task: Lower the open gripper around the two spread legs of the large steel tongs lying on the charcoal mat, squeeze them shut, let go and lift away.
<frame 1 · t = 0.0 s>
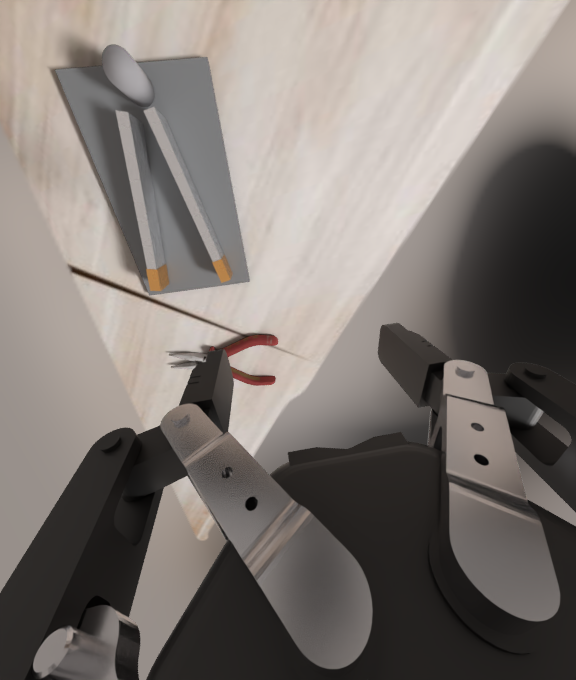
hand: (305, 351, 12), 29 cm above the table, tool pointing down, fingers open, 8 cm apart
leg 1: (147, 214, 30), point 3 cm above the table, hinge at 11.0°
leg 2: (196, 209, 30), point 3 cm above the table, hinge at 11.0°
pliers: (231, 350, 46), on the table
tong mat: (175, 198, 32), on the table
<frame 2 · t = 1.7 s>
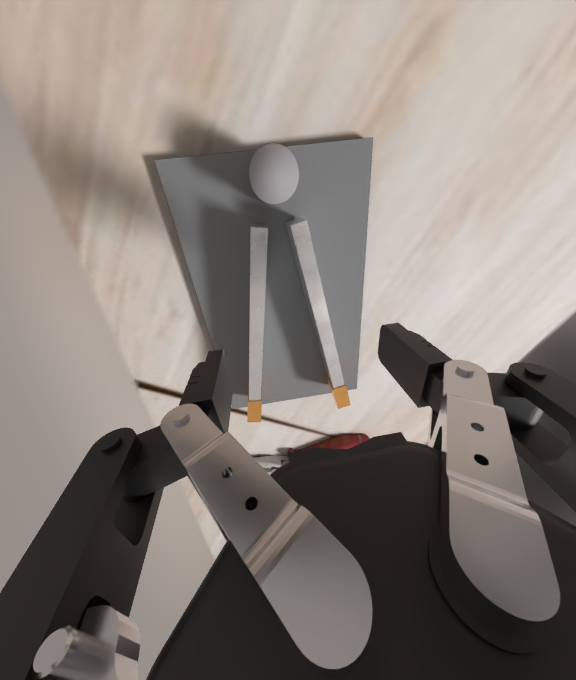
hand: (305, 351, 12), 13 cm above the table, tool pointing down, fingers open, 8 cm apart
leg 1: (256, 336, 22), point 3 cm above the table, hinge at 11.0°
leg 2: (321, 326, 22), point 3 cm above the table, hinge at 11.0°
pliers: (310, 448, 38), on the table
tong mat: (283, 304, 24), on the table
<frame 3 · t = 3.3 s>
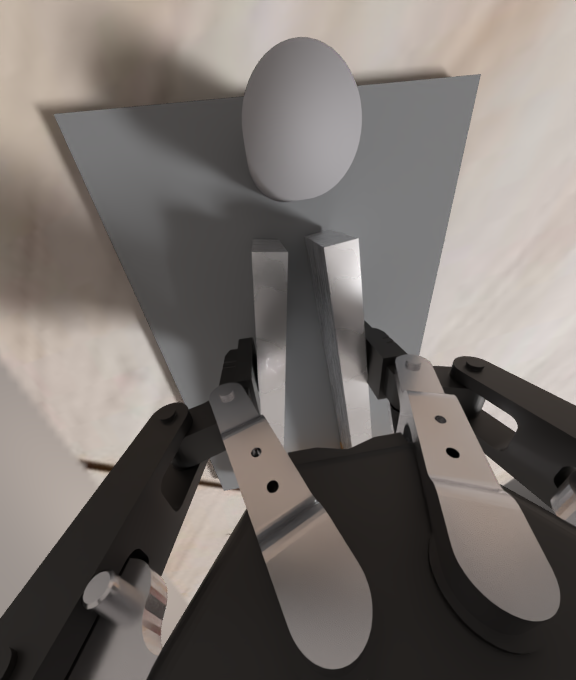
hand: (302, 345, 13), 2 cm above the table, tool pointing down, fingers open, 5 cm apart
leg 1: (270, 414, 14), point 3 cm above the table, hinge at 7.2°, touching gripper
leg 2: (348, 401, 14), point 3 cm above the table, hinge at 7.0°, touching gripper
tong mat: (299, 355, 16), on the table
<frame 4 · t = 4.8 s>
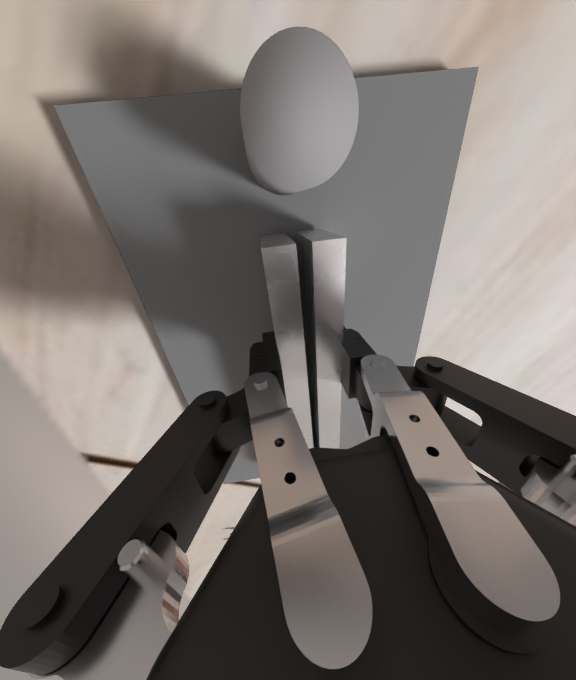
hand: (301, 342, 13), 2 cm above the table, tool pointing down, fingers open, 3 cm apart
leg 1: (296, 405, 14), point 3 cm above the table, hinge at -0.4°, touching gripper
leg 2: (321, 401, 14), point 3 cm above the table, hinge at -0.6°, touching gripper
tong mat: (298, 349, 16), on the table
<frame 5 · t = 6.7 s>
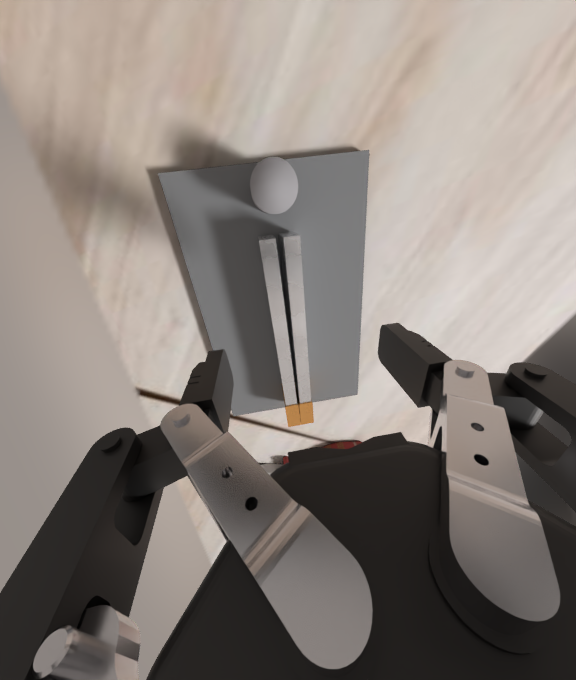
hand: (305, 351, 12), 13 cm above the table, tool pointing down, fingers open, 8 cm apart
leg 1: (281, 343, 23), point 3 cm above the table, hinge at -0.4°
leg 2: (297, 340, 23), point 3 cm above the table, hinge at -0.6°
pliers: (305, 456, 38), on the table
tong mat: (284, 311, 24), on the table
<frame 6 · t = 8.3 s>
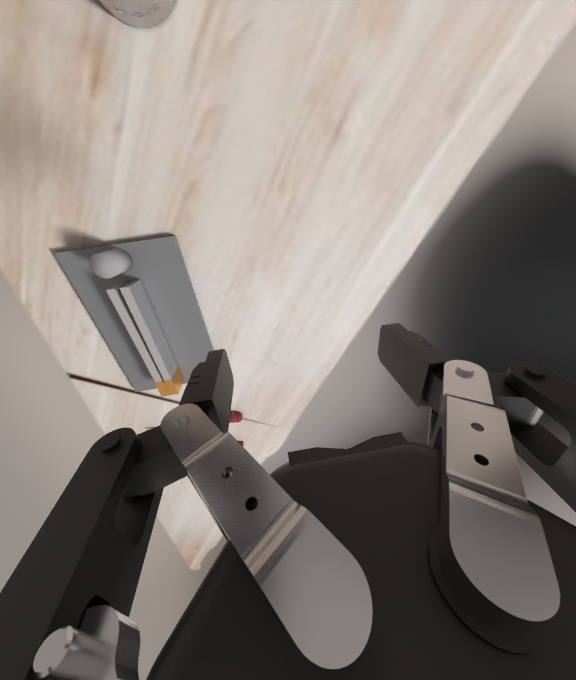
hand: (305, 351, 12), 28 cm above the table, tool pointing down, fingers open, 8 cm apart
leg 1: (146, 343, 37), point 3 cm above the table, hinge at -0.4°
leg 2: (156, 341, 37), point 3 cm above the table, hinge at -0.6°
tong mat: (154, 323, 39), on the table
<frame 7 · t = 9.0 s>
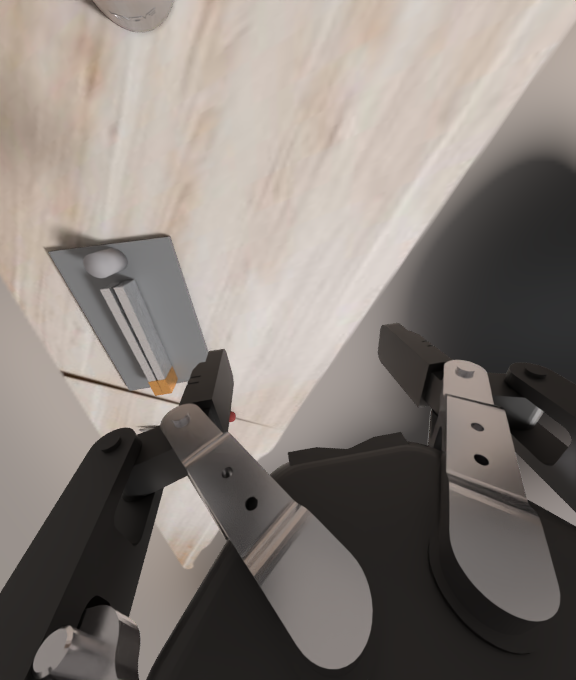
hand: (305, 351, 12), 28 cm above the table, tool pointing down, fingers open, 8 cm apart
leg 1: (140, 343, 37), point 3 cm above the table, hinge at -0.4°
leg 2: (150, 341, 37), point 3 cm above the table, hinge at -0.6°
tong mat: (148, 322, 39), on the table
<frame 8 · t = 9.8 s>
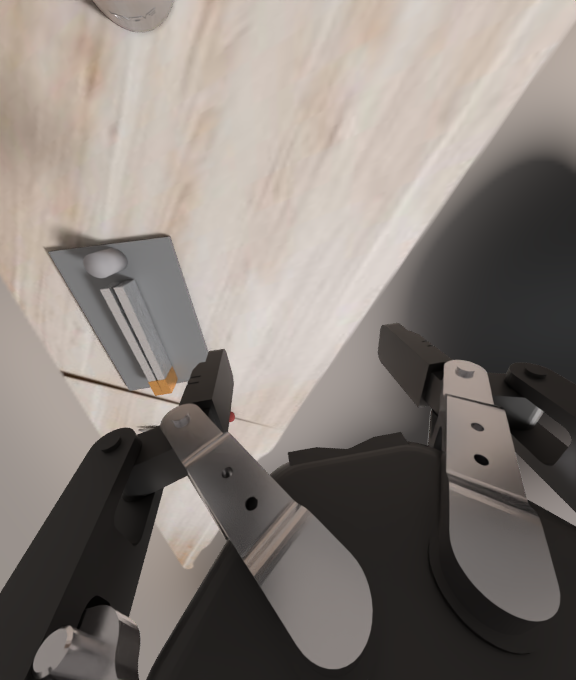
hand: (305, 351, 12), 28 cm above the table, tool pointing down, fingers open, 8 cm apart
leg 1: (140, 343, 37), point 3 cm above the table, hinge at -0.4°
leg 2: (150, 341, 37), point 3 cm above the table, hinge at -0.6°
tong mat: (148, 322, 39), on the table
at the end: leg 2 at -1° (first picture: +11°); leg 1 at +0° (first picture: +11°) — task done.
